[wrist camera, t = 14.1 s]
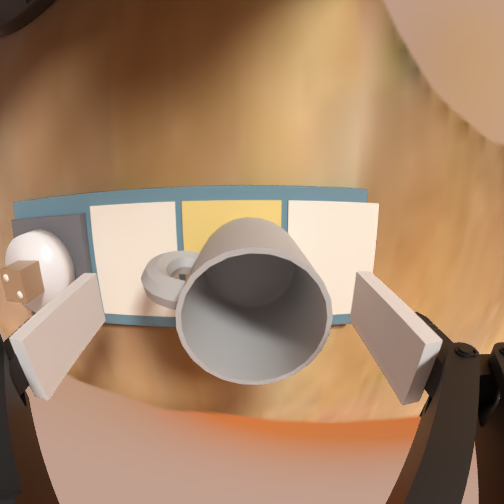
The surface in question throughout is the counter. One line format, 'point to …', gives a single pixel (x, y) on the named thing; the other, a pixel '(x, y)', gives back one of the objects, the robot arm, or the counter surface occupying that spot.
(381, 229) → the counter surface
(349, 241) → the game board
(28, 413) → the robot arm
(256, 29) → the counter surface
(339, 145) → the counter surface
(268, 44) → the counter surface
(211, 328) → the cup
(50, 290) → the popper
